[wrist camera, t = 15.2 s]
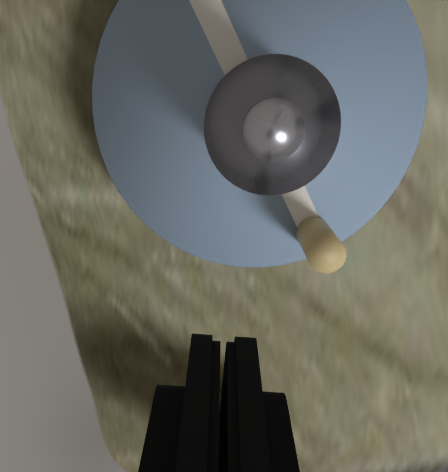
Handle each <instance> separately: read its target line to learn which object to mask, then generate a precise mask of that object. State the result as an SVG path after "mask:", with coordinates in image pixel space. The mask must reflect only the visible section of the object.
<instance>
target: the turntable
mask: <svg viewBox="0 0 448 472" xmlns="http://www.w3.org/2000/svg"><path fill="white" fill-rule="evenodd" d="M266 54H285V55H291V56H294V57H298V58H300V59H302V60H304V61H307V62H308V63H310V64H311V65H313V66H314V67H316V68H317V69H318V70H319V71H320V72H321V73H322V74H323V75H324V76H325V77H326V78H327V80H328V81H329V83H330V84H331V86H332V87H333V89H334V92H335V94H336V96H337V99H338V102H339V106H340V112H341V130H340V136H339V141H338V144H337V147H336V150H335V152H334V154H333V156H332V158H331V160H330V161H329V163H328V164H327V166H326V167H325V168H324V169H323V171H322V172H321V173H320V174H319V175H318V176H317V177H316V178H315V179H313V180H312V181H311V182H309V183H308V184H306V185H305V186H303V187H301V188H299V189H297V190H294V191H292V192H289V193H285V194H280V195H258V194H254V193H250V192H247V191H245V190H242V189H240V188H238V187H236V186H235V185H233V184H232V183H230V182H229V181H228V180H227V179H226V178H225V177H224V176H222V175H221V173H220V172H219V171H218V170H217V168H216V167H215V165H214V164H213V162H212V160H211V158H210V156H209V153H208V151H207V147H206V144H205V138H204V117H205V112H206V108H207V105H208V102H209V99H210V97H211V95H212V93H213V91H214V89H215V87H216V86H217V84H218V83H219V81H220V80H221V79H222V78H223V77H224V76H225V75H226V74H227V73H228V72H229V71H231V70H232V69H233V68H234V67H236V66H237V65H239V64H240V63H242V62H244V61H246V60H248V59H250V58H253V57H257V56H260V55H266ZM426 103H427V70H426V59H425V53H424V49H423V44H422V40H421V35H420V32H419V29H418V26H417V24H416V21H415V18H414V16H413V13H412V10H411V8H410V7H409V5H408V3H407V1H406V0H119V1H118V3H117V4H116V6H115V8H114V10H113V11H112V13H111V15H110V17H109V20H108V22H107V25H106V27H105V30H104V32H103V35H102V37H101V40H100V44H99V48H98V52H97V56H96V60H95V66H94V74H93V82H92V112H93V119H94V127H95V133H96V137H97V141H98V145H99V149H100V152H101V155H102V158H103V160H104V163H105V165H106V168H107V170H108V173H109V175H110V177H111V179H112V180H113V182H114V184H115V186H116V188H117V189H118V191H119V193H120V194H121V196H122V197H123V198H124V200H125V201H126V203H127V204H128V205H129V207H130V208H131V209H132V210H133V211H134V213H135V214H136V215H137V216H138V217H139V218H140V219H141V220H142V221H143V222H144V223H145V224H146V225H147V226H148V227H149V228H151V229H152V230H153V231H154V232H155V233H157V234H158V235H159V236H160V237H162V238H163V239H165V240H166V241H168V242H169V243H171V244H172V245H174V246H175V247H177V248H179V249H181V250H183V251H185V252H188V253H190V254H192V255H194V256H197V257H200V258H202V259H205V260H208V261H211V262H216V263H220V264H225V265H229V266H239V267H270V266H277V265H284V264H289V263H293V262H296V261H300V260H304V259H307V260H308V262H309V264H310V265H311V267H312V268H313V269H314V270H315V271H317V272H320V273H332V272H334V271H336V270H338V269H339V268H340V267H341V266H342V265H343V264H344V262H345V260H346V256H347V252H346V248H345V246H344V245H343V244H342V241H344V240H345V239H346V238H348V237H349V236H351V235H352V234H354V233H355V232H356V231H358V230H359V229H360V228H361V227H362V226H363V225H365V224H366V223H367V222H368V221H369V220H370V219H371V218H372V217H373V216H374V215H375V214H376V213H377V212H378V211H379V210H380V209H381V208H382V206H383V205H384V204H385V203H386V202H387V200H388V199H389V198H390V196H391V195H392V193H393V192H394V191H395V189H396V188H397V187H398V185H399V183H400V181H401V180H402V178H403V176H404V174H405V172H406V171H407V169H408V167H409V165H410V162H411V160H412V157H413V155H414V153H415V150H416V148H417V145H418V141H419V138H420V134H421V131H422V127H423V122H424V116H425V110H426Z"/></svg>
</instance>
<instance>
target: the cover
mask: <svg viewBox="0 0 448 472" xmlns="http://www.w3.org/2000/svg"><path fill="white" fill-rule="evenodd" d="M340 130H341V112H340V106H339V102H338V99H337V96H336V94H335V92H334V89H333V87H332V86H331V84H330V83H329V81H328V80H327V78H326V77H325V76H324V75H323V74H322V73H321V72H320V71H319V70H318V69H317V68H316V67H314V66H313V65H311V64H310V63H308V62H307V61H304V60H302V59H300V58H298V57H294V56H291V55H285V54H266V55H260V56H257V57H253V58H250V59H248V60H246V61H244V62H242V63H240V64H239V65H237V66H236V67H234V68H233V69H232V70H231V71H229V72H228V73H227V74H226V75H225V76H224V77H223V78H222V79H221V80H220V81H219V83H218V84H217V86H216V87H215V89H214V91H213V93H212V95H211V97H210V99H209V102H208V105H207V108H206V112H205V117H204V138H205V144H206V147H207V151H208V153H209V156H210V158H211V160H212V162H213V164H214V165H215V167H216V168H217V170H218V171H219V172H220V173H221V175H222V176H224V177H225V178H226V179H227V180H228V181H229V182H230V183H232V184H233V185H235V186H236V187H238V188H240V189H242V190H245V191H247V192H250V193H254V194H258V195H280V194H285V193H289V192H292V191H294V190H297V189H299V188H301V187H303V186H305V185H306V184H308V183H309V182H311V181H312V180H313V179H315V178H316V177H317V176H318V175H319V174H320V173H321V172H322V171H323V169H324V168H325V167H326V166H327V164H328V163H329V161H330V160H331V158H332V156H333V154H334V152H335V150H336V147H337V144H338V141H339V136H340Z"/></svg>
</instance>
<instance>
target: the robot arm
mask: <svg viewBox="0 0 448 472" xmlns="http://www.w3.org/2000/svg"><path fill="white" fill-rule="evenodd" d="M219 398H220V341H212V335H204V334H192V337H191V346H190V354H189V362H188V370H187V379H186V387H182V386H167V385H157V387H156V390H155V395H154V399H153V404H152V409H151V414H150V418H149V423H148V428H147V433H146V437H145V442H144V447H143V452H142V456H141V461H140V466H139V470H138V472H300V471H299V465H298V460H297V454H296V449H295V443H294V438H293V432H292V427H291V421H290V416H289V410H288V405H287V400H286V396H285V394H284V393H276V392H262V384H261V375H260V366H259V357H258V349H257V341H256V338H248V337H235V340H234V342H227V343H226V352H225V361H224V371H223V380H222V390H221V399H220V409H219Z"/></svg>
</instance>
